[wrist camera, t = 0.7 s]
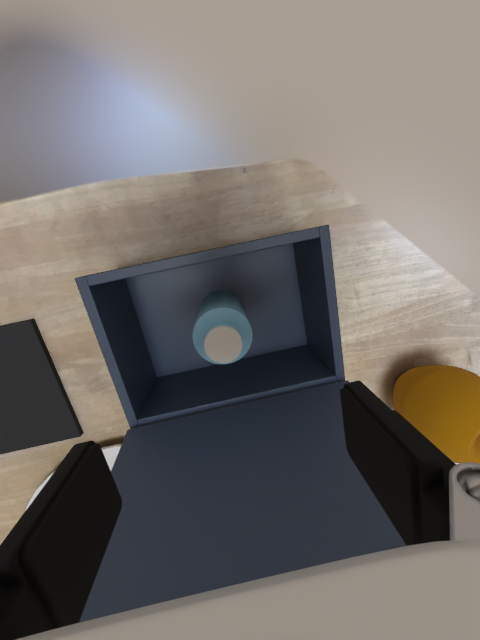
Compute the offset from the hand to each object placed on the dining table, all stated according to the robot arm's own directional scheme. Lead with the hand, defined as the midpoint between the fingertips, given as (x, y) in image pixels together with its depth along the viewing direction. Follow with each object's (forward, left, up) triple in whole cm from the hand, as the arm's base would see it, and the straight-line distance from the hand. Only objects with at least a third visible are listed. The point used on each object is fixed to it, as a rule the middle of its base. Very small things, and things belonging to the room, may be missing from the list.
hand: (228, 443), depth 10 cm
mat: (+4, -27, -21) cm, 35 cm away
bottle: (0, 0, -20) cm, 20 cm away
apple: (+15, +22, -21) cm, 34 cm away
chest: (0, 0, -21) cm, 21 cm away
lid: (+7, 0, -5) cm, 8 cm away
